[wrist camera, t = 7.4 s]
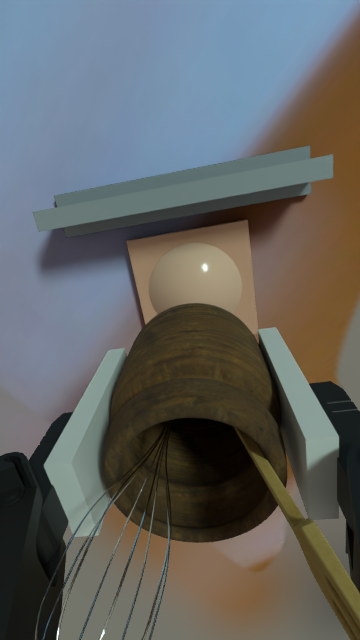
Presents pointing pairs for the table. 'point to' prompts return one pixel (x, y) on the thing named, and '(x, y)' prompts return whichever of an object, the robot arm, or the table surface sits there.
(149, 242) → the coaster
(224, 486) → the utensil holder
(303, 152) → the low wall
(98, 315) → the table surface
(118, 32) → the table surface
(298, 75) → the table surface
